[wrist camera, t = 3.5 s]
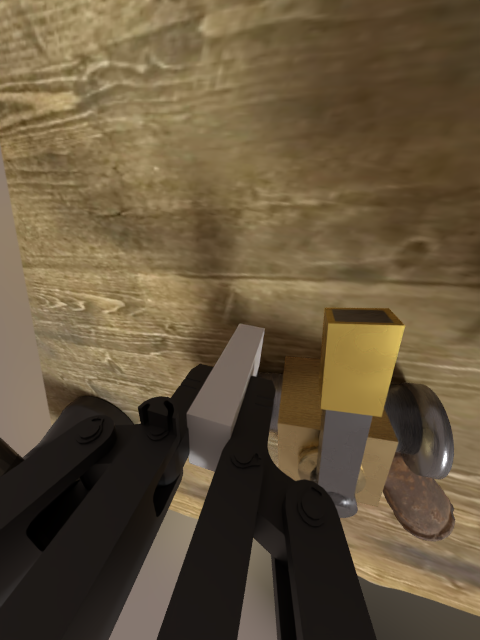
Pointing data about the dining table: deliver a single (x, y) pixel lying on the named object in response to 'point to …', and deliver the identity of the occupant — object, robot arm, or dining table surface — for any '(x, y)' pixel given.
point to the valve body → (384, 434)
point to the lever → (352, 393)
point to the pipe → (418, 502)
